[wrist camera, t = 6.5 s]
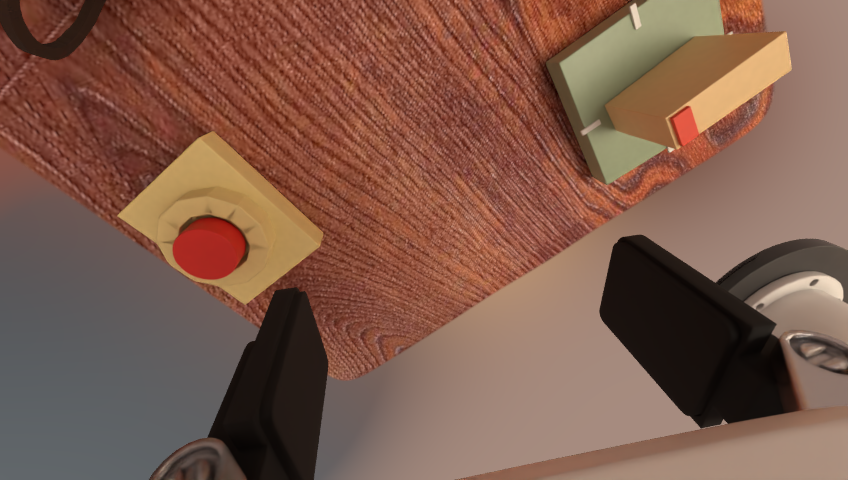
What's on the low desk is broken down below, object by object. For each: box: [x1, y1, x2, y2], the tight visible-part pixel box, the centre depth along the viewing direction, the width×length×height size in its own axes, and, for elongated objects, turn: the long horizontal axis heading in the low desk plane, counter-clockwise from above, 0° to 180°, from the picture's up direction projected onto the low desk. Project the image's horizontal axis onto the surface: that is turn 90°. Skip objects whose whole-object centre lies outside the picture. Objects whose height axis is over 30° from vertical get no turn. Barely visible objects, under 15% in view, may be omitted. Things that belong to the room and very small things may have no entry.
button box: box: [118, 131, 323, 304], centre depth 24 cm, size 10×8×4 cm
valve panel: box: [546, 0, 733, 185], centre depth 24 cm, size 11×11×2 cm
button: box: [172, 218, 246, 280], centre depth 21 cm, size 4×4×2 cm
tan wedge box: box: [605, 31, 791, 149], centre depth 20 cm, size 6×2×6 cm, turn 128°
